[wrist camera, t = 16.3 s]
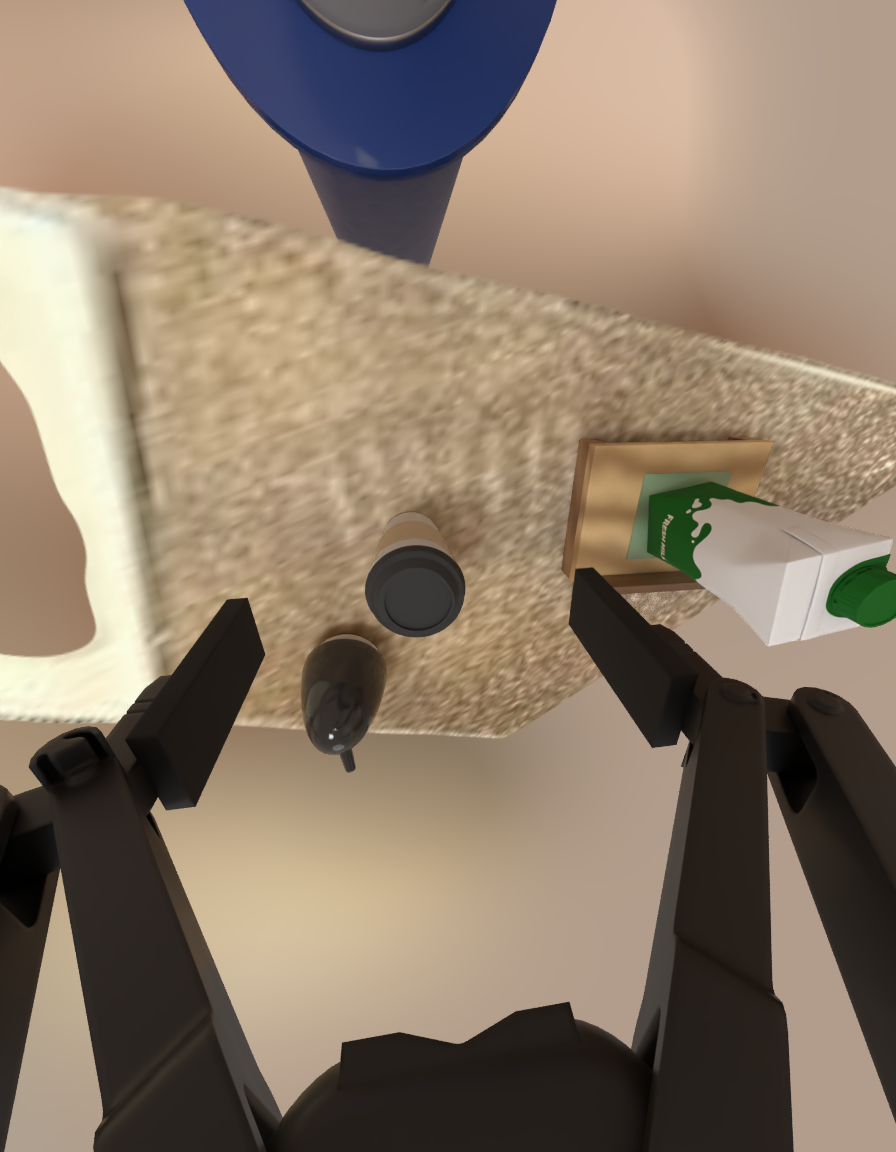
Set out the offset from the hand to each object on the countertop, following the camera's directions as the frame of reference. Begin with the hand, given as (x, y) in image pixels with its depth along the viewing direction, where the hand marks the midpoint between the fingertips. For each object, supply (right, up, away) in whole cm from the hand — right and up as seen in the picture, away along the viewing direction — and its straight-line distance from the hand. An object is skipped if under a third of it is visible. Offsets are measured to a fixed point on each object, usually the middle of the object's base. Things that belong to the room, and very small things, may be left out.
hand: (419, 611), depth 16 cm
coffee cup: (-3, +6, +31) cm, 32 cm away
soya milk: (+27, +8, +29) cm, 41 cm away
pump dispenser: (-12, -9, +38) cm, 41 cm away
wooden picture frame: (+26, +10, +33) cm, 43 cm away
